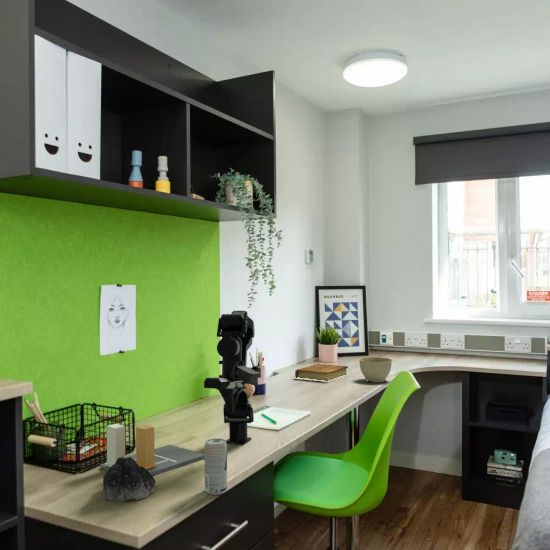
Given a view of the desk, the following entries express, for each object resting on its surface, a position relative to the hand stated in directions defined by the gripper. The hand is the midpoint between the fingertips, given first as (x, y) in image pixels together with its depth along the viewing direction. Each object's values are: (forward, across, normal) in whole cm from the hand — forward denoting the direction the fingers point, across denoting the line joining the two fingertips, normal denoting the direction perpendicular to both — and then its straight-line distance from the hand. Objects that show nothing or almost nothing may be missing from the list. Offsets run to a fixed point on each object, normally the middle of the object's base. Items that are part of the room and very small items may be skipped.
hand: (231, 412), depth 162 cm
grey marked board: (+14, -14, +16) cm, 25 cm away
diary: (0, +129, +40) cm, 135 cm away
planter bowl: (0, +134, +13) cm, 135 cm away
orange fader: (+13, -20, +13) cm, 27 cm away
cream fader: (+13, -24, +21) cm, 34 cm away
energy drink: (+16, -21, -12) cm, 29 cm away
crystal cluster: (+16, -33, +6) cm, 37 cm away
